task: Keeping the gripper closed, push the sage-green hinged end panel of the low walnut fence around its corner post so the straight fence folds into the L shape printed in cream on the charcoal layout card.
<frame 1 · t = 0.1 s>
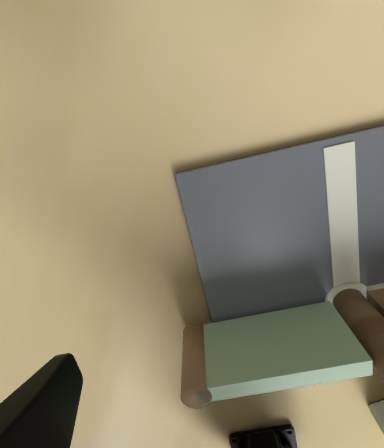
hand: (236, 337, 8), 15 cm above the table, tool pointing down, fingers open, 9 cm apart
layout card: (381, 257, 23), on the table
hinged fence panel: (263, 348, 22), point 4 cm above the table, hinge at 0.0°
fixed fence section: (344, 296, 25), resting on layout card
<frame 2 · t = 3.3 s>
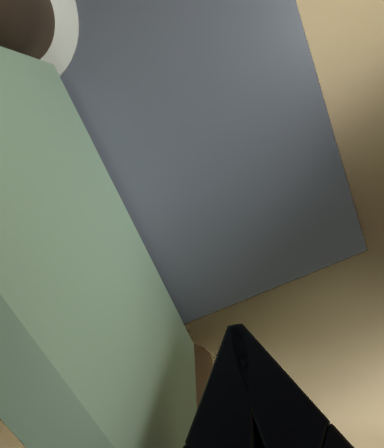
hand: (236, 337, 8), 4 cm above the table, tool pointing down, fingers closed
hinged fence panel: (111, 315, 7), point 4 cm above the table, hinge at 3.7°, touching gripper
fixed fence section: (19, 21, 8), resting on layout card
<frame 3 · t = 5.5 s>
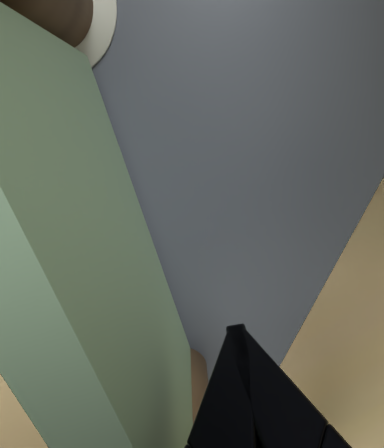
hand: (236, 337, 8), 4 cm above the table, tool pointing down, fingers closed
hinged fence panel: (122, 311, 7), point 4 cm above the table, hinge at 55.8°, touching gripper
fixed fence section: (55, 9, 8), resting on layout card
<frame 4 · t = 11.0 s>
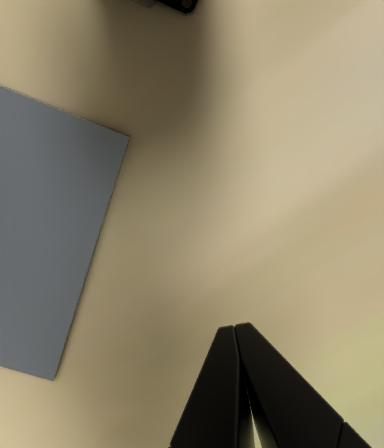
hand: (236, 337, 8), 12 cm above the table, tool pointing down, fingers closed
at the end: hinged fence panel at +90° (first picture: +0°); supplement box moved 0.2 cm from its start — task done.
